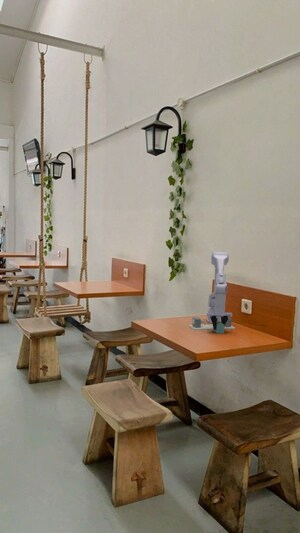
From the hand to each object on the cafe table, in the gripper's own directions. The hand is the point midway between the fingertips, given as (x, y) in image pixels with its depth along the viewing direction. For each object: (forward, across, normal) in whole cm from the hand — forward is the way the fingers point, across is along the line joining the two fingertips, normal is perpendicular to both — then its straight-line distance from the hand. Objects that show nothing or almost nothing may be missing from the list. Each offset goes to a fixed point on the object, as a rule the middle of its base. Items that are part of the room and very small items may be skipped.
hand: (218, 329), depth 231 cm
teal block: (+1, 0, 0) cm, 1 cm away
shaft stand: (+1, 0, +10) cm, 10 cm away
